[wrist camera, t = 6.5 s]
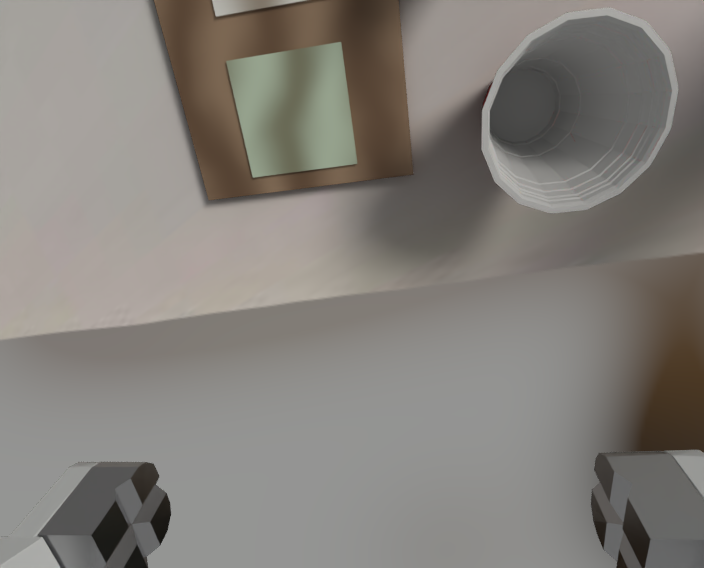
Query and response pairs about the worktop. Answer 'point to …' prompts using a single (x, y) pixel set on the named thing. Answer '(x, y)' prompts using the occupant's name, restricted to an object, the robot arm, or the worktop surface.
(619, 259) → the worktop surface
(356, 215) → the worktop surface
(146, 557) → the robot arm
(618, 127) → the plastic cup
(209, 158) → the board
